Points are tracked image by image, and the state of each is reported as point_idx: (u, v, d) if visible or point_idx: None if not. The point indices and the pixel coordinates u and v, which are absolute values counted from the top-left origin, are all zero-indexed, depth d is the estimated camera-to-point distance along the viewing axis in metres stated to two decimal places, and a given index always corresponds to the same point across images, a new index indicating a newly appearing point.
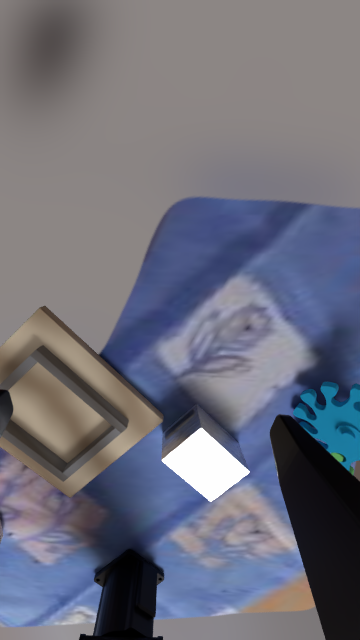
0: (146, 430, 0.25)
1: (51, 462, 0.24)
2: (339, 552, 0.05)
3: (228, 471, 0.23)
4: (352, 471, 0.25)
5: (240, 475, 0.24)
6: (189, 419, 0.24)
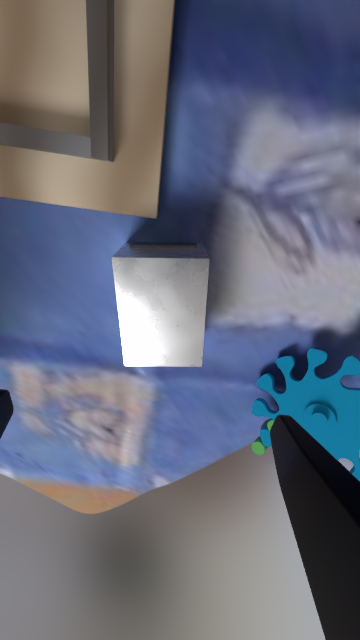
0: (121, 206, 0.14)
1: None
2: (339, 552, 0.05)
3: (180, 347, 0.15)
4: (266, 447, 0.21)
5: (188, 362, 0.16)
6: (186, 248, 0.14)
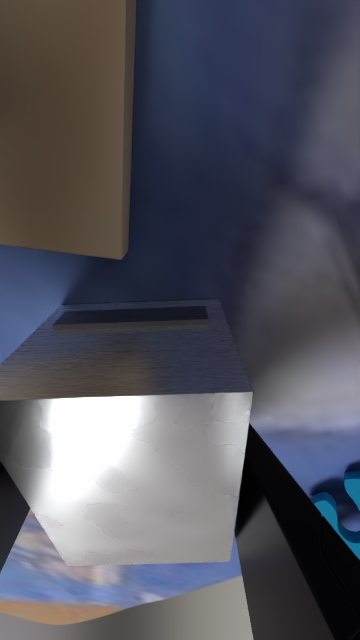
0: (35, 232, 0.06)
1: None
2: (263, 548, 0.05)
3: (182, 540, 0.07)
4: None
5: (201, 558, 0.07)
6: (183, 327, 0.06)
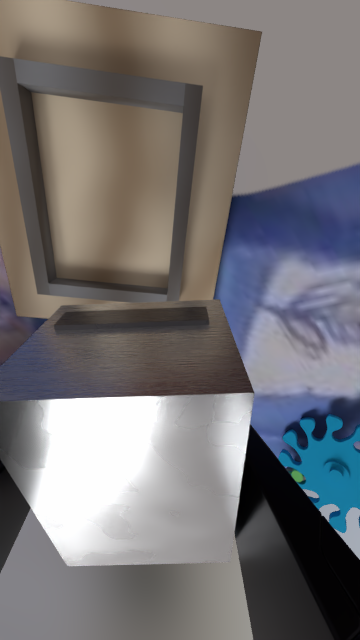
0: None
1: (45, 258, 0.15)
2: (263, 548, 0.05)
3: (182, 540, 0.07)
4: None
5: (201, 558, 0.07)
6: (183, 328, 0.06)
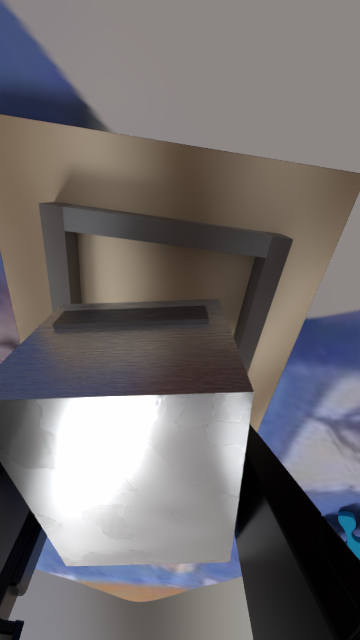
0: None
1: None
2: (263, 548, 0.05)
3: (182, 540, 0.07)
4: None
5: (201, 558, 0.07)
6: (183, 327, 0.06)
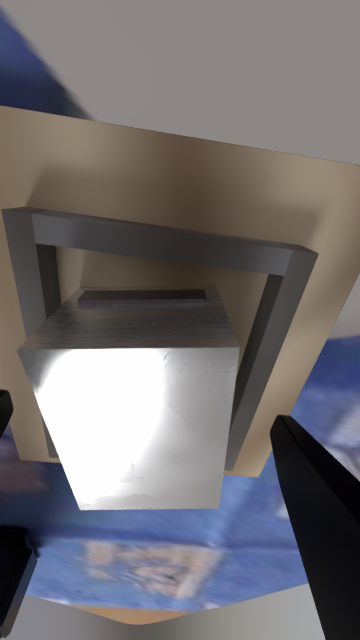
0: (227, 471, 0.15)
1: None
2: (339, 552, 0.05)
3: (179, 484, 0.08)
4: None
5: (194, 504, 0.09)
6: (185, 305, 0.07)
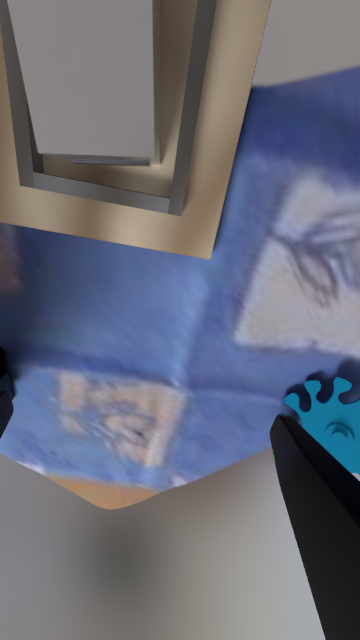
0: (182, 248, 0.16)
1: (31, 138, 0.13)
2: (339, 552, 0.05)
3: (119, 111, 0.10)
4: None
5: (133, 147, 0.10)
6: None
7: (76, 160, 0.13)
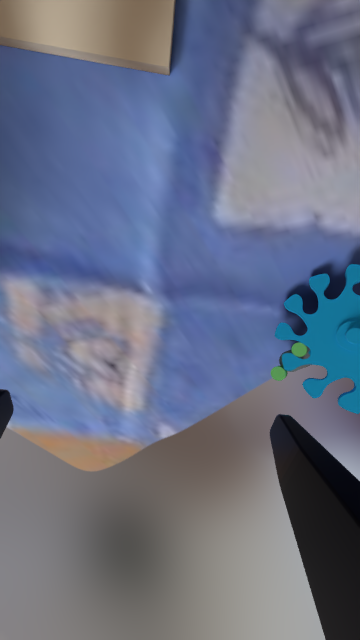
0: (128, 49, 0.12)
1: None
2: (339, 552, 0.05)
3: None
4: (285, 376, 0.19)
5: None
6: None
7: None
